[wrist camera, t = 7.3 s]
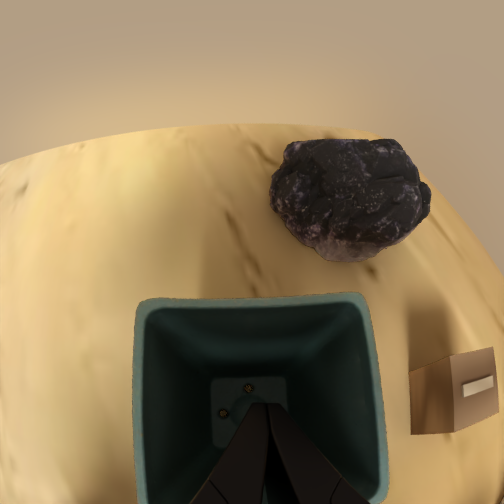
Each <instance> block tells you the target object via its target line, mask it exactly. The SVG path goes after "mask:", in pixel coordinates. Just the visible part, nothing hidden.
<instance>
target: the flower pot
mask: <svg viewBox="0 0 504 504" xmlns="http://www.w3.org/2000/svg"><path fill="white" fill-rule="evenodd" d="M132 376H133V379H132V390H133V392H132V405H133V407H132V418H133V441H134V444H133V446H134V461H135V476H136V487H137V490H136V491H137V501H138V504H189V503H190V502H191V501H192V500H193V498H194V497H195V495H196V494H197V493H198V491H199V490H200V489H201V487H202V485H203V484H204V482H205V481H206V480H208V476H209V475H210V473H211V472H212V470H213V468H214V467H215V465H216V464H217V462H218V460H219V459H220V457H221V455H222V454H223V452H224V450H225V449H226V447H227V445H228V444H229V442H230V440H231V438H232V437H233V435H234V433H235V432H236V430H237V428H238V426H239V425H240V423H241V421H242V419H243V417H244V416H245V414H246V412H247V410H248V408H249V407H250V405H251V403H252V402H264V403H265V404H267V403H280V404H281V405H282V406H283V407H284V408H285V410H286V411H287V412H288V413H289V415H290V416H291V417H292V418H293V420H294V421H295V422H296V423H297V425H298V426H299V427H300V428H301V429H302V431H303V432H304V433H305V434H306V435H307V437H308V438H309V439H310V440H311V441H312V443H313V444H314V445H315V446H316V447H317V448H318V450H319V451H320V452H321V453H322V454H323V455H324V456H325V458H326V459H327V460H328V461H329V462H330V463H331V464H332V465H333V467H334V468H335V469H336V470H337V471H338V472H339V473H340V474H341V477H344V478H345V480H346V481H347V482H348V483H349V484H350V485H351V486H352V487H353V488H354V489H355V490H356V491H357V492H358V493H359V494H360V495H361V496H362V497H364V498H365V499H366V500H367V501H369V502H370V503H371V504H379V503H381V502H382V501H384V500H385V499H386V497H387V493H388V490H389V478H390V477H389V458H388V445H387V432H386V424H385V412H384V402H383V397H382V388H381V377H380V372H379V363H378V355H377V351H376V344H375V338H374V333H373V326H372V321H371V316H370V311H369V308H368V305H367V302H366V300H365V298H364V297H363V295H362V294H361V293H359V292H340V293H327V294H315V295H304V296H291V297H271V298H268V297H267V298H236V299H233V298H232V299H176V298H172V299H170V298H152V299H147V300H145V301H142V302H140V303H139V305H138V307H137V310H136V317H135V326H134V345H133V375H132ZM246 385H251V386H252V387H253V390H252V391H251V392H246V391H245V390H244V387H245V386H246ZM223 409H224V410H226V411H227V412H228V414H227V416H226V417H221V416H220V414H219V413H220V411H221V410H223ZM262 504H268V500H267V494H266V487H265V482H264V490H263V498H262Z"/></svg>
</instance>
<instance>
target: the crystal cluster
mask: <svg viewBox="0 0 504 504" xmlns="http://www.w3.org/2000/svg"><path fill="white" fill-rule="evenodd" d="M283 156H284V160H283V163H282V165H281V166H280V169H279V170H277V171H276V172H275V173H274V174H273V175H272V182H271V187H270V191H269V195H270V201H271V203H270V205H271V207H272V208H273V210H274V211H275V212H276V213H278V214H279V215H280V216H281V218H282V219H283V220H284V221H285V225H286V227H287V228H288V229H289V230H290V231H291V233H292V234H293V235H294V236H295V237H297V238H298V240H299V241H300V242H302V243H303V244H305V245H307V246H309V247H314V248H315V250H316V252H317V253H318V254H320V255H321V256H322V257H323V258H324V259H326V260H329V261H345V262H355V261H363V260H366V259H368V258H370V257H374V256H375V255H376V254H378V253H379V252H380V251H381V250H382V249H384V248H385V249H387V246H391V245H395V244H397V243H399V242H401V241H402V240H404V239H405V238H406V237H407V236H408V235H409V234H410V233H411V232H412V231H413V230H414V229H415V228H416V227H417V225H418V224H419V223H421V222H422V220H423V219H424V218H426V217H427V216H428V214H429V212H430V201H431V190H430V188H429V187H428V185H427V184H425V183H424V182H421V181H420V177H419V172H418V169H417V167H416V166H415V165H414V164H413V163H412V161H411V159H410V157H409V156H408V155H407V154H406V153H405V151H404V150H403V148H402V146H401V145H400V144H399V143H398V142H397V141H395V140H394V139H378V140H372V141H369V140H368V139H360V140H359V139H319V140H308V141H297V142H292V143H291V144H288V145H287V147H286V149H285V151H284V155H283Z"/></svg>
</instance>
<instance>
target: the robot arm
mask: <svg viewBox="0 0 504 504" xmlns="http://www.w3.org/2000/svg"><path fill="white" fill-rule="evenodd" d="M264 482H265V487H266V494H267V500H268V504H371V503H370V502H369V501H367V500H366V499H365V498H364V497H362V496H361V495H360V494H359V493H358V492H357V491H356V490H355V489H354V488H353V487H352V486H351V485H350V484H349V483H348V482H347V481H346V480H345V478H344V477H341V474H340V473H339V472H338V471H337V470H336V469H335V468H334V467H333V465H332V464H331V463H330V462H329V461H328V460H327V459H326V458H325V456H324V455H323V454H322V453H321V452H320V451H319V450H318V448H317V447H316V446H315V445H314V444H313V443H312V441H311V440H310V439H309V438H308V437H307V435H306V434H305V433H304V432H303V431H302V429H301V428H300V427H299V426H298V425H297V423H296V422H295V421H294V420H293V418H292V417H291V416H290V415H289V413H288V412H287V411H286V410H285V408H284V407H283V406H282V405H281V404H280V403H267V404H265V403H264V402H252V403H251V405H250V407H249V408H248V410H247V412H246V414H245V416H244V417H243V419H242V421H241V423H240V425H239V426H238V428H237V430H236V432H235V433H234V435H233V437H232V438H231V440H230V442H229V444H228V445H227V447H226V449H225V450H224V452H223V454H222V455H221V457H220V459H219V460H218V462H217V464H216V465H215V467H214V468H213V470H212V472H211V473H210V475H209V476H208V480H206V481H205V482H204V484H203V485H202V487H201V489H200V490H199V491H198V493H197V494H196V495H195V497H194V498H193V500H192V501H191V502H190V503H189V504H262V498H263V490H264Z"/></svg>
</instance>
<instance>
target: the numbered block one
mask: <svg viewBox="0 0 504 504" xmlns="http://www.w3.org/2000/svg"><path fill="white" fill-rule="evenodd" d="M409 385H410V408H411V435H420V434H440V433H452V432H456V431H459V430H461V429H464V428H466V427H468V426H471V425H473V424H475V423H478V422H480V421H482V420H484V419H486V418H488V417H490V416H492V415H494V414H496V413H498V412H499V401H498V385H497V374H496V365H495V357H494V350H493V347H490V348H485V349H481V350H476V351H472V352H467V353H462V354H456V355H451V356H448V357H446V358H443V359H441V360H439V361H436V362H434V363H431V364H429V365H426V366H424V367H421V368H419V369H416V370H414V371H411V372H409Z"/></svg>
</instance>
